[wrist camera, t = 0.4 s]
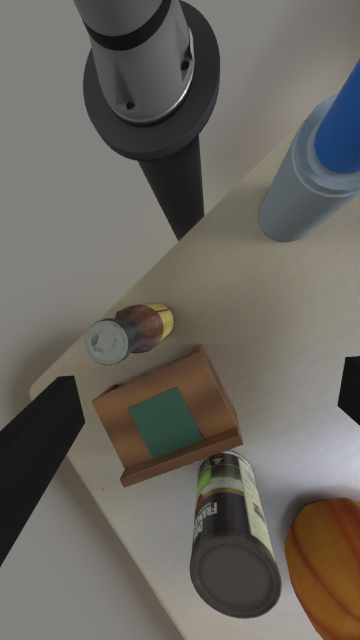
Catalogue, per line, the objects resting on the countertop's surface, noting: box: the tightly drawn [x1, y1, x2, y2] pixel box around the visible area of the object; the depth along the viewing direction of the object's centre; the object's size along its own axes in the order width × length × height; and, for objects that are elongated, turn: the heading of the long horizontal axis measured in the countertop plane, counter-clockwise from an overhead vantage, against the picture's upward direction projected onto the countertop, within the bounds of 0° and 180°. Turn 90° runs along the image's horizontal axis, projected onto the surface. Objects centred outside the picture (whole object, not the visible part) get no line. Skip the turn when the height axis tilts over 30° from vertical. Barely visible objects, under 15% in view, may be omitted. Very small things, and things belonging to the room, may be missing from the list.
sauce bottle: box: [85, 304, 174, 365], centre depth 27 cm, size 7×6×20 cm
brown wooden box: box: [92, 344, 243, 487], centre depth 34 cm, size 14×20×8 cm
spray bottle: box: [258, 59, 360, 242], centre depth 20 cm, size 9×9×25 cm
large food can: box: [190, 450, 282, 619], centre depth 30 cm, size 10×10×14 cm
